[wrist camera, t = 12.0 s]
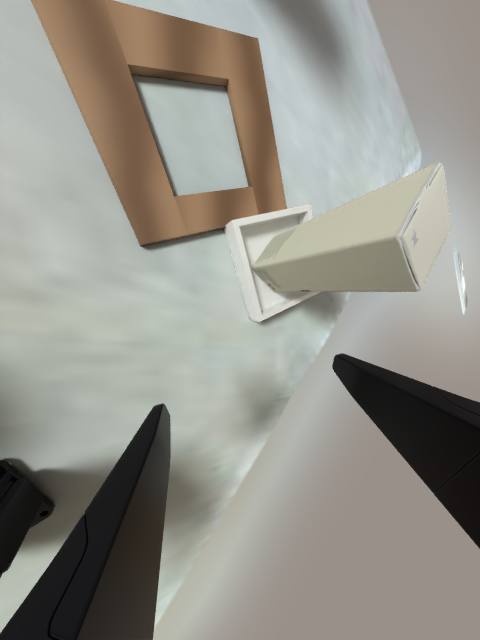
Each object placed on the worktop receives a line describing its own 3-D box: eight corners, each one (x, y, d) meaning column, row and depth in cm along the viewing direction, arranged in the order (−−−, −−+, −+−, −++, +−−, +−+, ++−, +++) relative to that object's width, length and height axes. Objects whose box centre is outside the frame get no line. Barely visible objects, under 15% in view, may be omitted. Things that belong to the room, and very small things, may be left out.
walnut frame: (140, 246, 14) (140, 244, 14) (27, -8, 10) (20, -24, 9) (283, 215, 20) (287, 213, 20) (254, 46, 16) (258, 38, 15)
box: (273, 292, 21) (419, 300, 9) (248, 267, 19) (398, 238, 7) (295, 259, 21) (457, 228, 10) (274, 231, 19) (448, 153, 8)
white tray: (249, 319, 20) (259, 322, 19) (223, 227, 17) (231, 220, 15) (308, 291, 24) (321, 291, 22) (296, 211, 21) (310, 204, 19)
